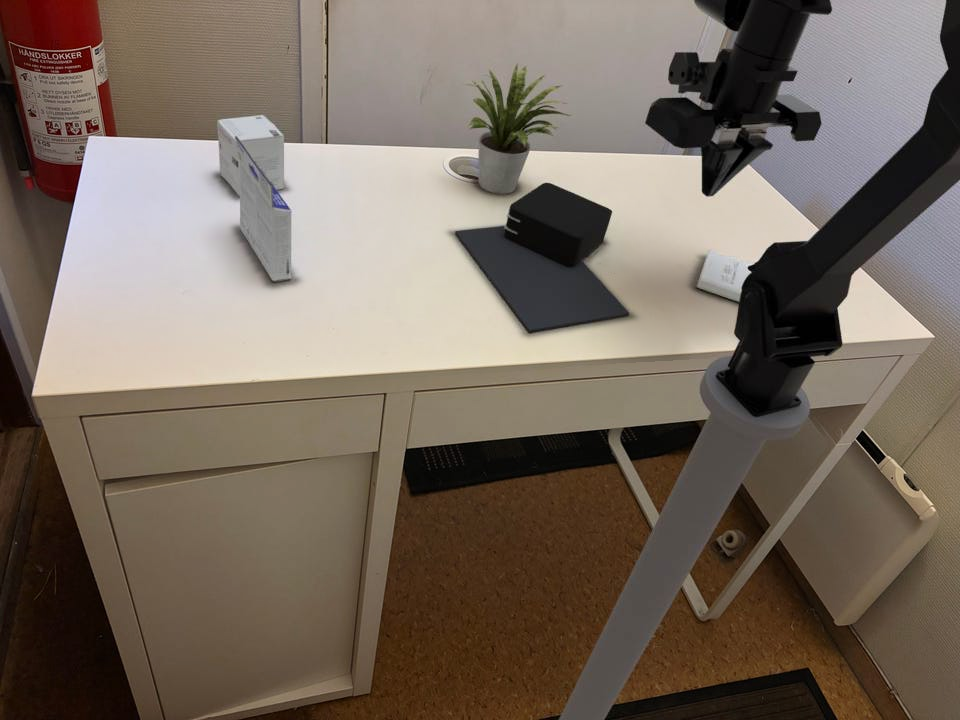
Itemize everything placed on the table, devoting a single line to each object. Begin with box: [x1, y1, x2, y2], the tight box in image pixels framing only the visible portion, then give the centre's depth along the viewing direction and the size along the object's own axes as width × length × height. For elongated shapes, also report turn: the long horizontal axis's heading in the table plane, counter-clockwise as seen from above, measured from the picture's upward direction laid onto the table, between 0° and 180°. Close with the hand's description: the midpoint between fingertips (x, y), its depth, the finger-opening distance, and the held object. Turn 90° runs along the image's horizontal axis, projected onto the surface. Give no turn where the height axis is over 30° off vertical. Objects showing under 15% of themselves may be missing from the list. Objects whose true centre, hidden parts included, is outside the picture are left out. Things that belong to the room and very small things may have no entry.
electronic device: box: [503, 182, 613, 267], centre depth 94 cm, size 4×10×10 cm
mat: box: [454, 225, 631, 334], centre depth 89 cm, size 20×13×1 cm, turn 25°
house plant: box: [461, 63, 572, 195], centre depth 98 cm, size 14×14×16 cm
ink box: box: [235, 136, 292, 283], centre depth 80 cm, size 12×2×12 cm, turn 31°
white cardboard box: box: [216, 114, 285, 197], centre depth 92 cm, size 6×6×7 cm
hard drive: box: [696, 249, 754, 303], centre depth 93 cm, size 2×8×12 cm
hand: (707, 194), depth 82 cm, fingers closed
